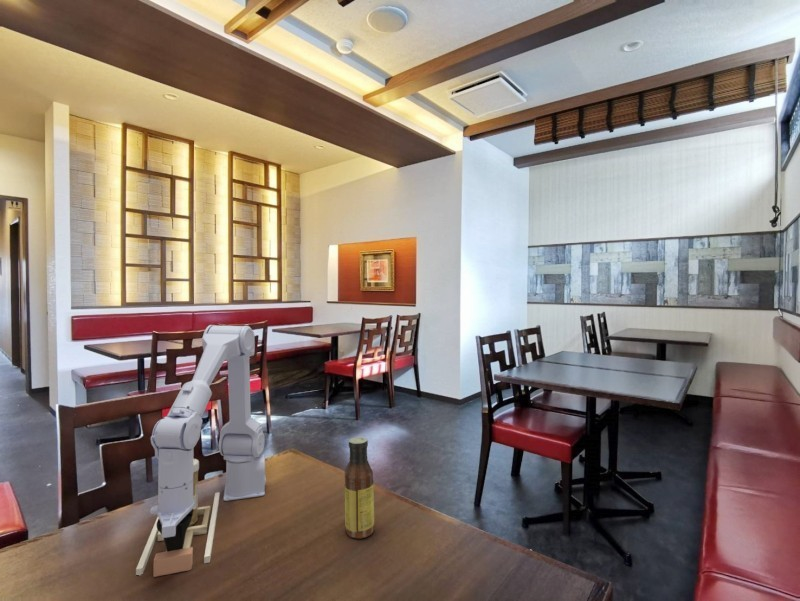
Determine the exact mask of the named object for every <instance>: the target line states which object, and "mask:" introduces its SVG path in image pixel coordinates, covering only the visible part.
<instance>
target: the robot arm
mask: <svg viewBox="0 0 800 601" xmlns="http://www.w3.org/2000/svg"><path fill="white" fill-rule="evenodd" d="M201 341H202V350H203V352H202V354H201V357H200V359H199V362H198V364H197V367H196V369H195V372H194V374H193V377H192V379H191V380H190V381H187V382H185V383H184V384H182V387H181V388H180V389H179V393H178V394H177V396H176V398H175V400H174V402H173V403H172V406H171V407H170V409H169V411H168V413H167V415H166V416H164V417H163V418H161V419H159V420H158V421H157V422H156V423H155V424H154V427H153V429H152V432H151V436H150V444H151V446H152V447H153V450H154V458H156V459H157V460H158V463H157V466H158V467H157V468H158V471H157V474H158V475H157V477H158V479H157V480H158V481H157V483H158V484H157V485H158V486H157V488H158V489H157V490H158V491H157V504H155V505H153V506H151V508H150V510H149V511H150V515H156V516H157V517H158V518H159V519H158V521H157V529H158V531H159V532H160V533H161V534H162V538H164V540H163V541H164V544H165V548H166V550H167V551H173V550H179V549H183V545H184V540H185V535H186V530H187V528H188V526H189V524H190V522H191V519H192V516H193V512H194V511H193V507H194V500H193V459H194V456H195V454H194V452H195V451H194V448H195V446H197V443H198V442H199V440H200V436H201V430H202V425H203V419H202V417H203V415H204V413H205V410H206V408H207V405H208V404H209V401H210V399H211V397H212V395H213V392H212V390H211V388H210V387H211V385H212V382H213V381H214V380H215V378H216V376H217V375H218V372H219V370H220V369H221V368H222V366H223V364H224V362H225V361H226V362H227V377H228V378H227V382H228V384H227V385H228V409H229V410H228V411H229V412H228V414H229V421H228V422H226V423H225V424H223V426H222V427H221V429H220V431H219V432H220V435H219V441H218V451H219V454H220V455H221V456H223V460H224V461H225V462H226V463H225V464H226V465H225V466H226V467H225V468H226V471H225V472H226V473H225V475H226V476H225V486H224V491H223V502H227V501H235V500H243V499H249V498H257V497H263V496H265V493H266V492H265V490H266V489H265V488H266V487H265V485H266V484H267V478H266V477H267V476H266V457H265V456H266V455H265V454H262V452H264V447H265V440H266V439H265V434H264V431H263V425H262V424H261V422H259V421H257V420H256V419H254V418H253V417H252V414H251V410H252V409H251V375H250V372H251V371H250V357H253V356H254V355H255V351H256V350H255V347H256V346H255V344H256V341H255V332H254V330H253V329H252V328H251V327H250V326H249V325H215V324H209V325H208V326H206V328H205V329H204V331H203V335H202V338H201ZM189 527H190V526H189Z"/></svg>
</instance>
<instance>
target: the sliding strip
mask: <svg viewBox="0 0 800 601" xmlns="http://www.w3.org/2000/svg"><path fill="white" fill-rule="evenodd" d="M211 508H212V506H211V505H205V506H199V507H198V506H197V517H198V516H203V519H202V522H201V524H200V525H194V526H193V525H192V526H189V527H188V528H187V530H186V535H185V540H184V545H183V549H179V550H173V551H167V549H166V550H165V551H163V552H157V553H155V556H154V558H153V578H156V577H160V576H165V575H172V574H176V573H181V572H187V571H191V570H192V568H193V559H194V558H193V557H194V553H193V552H194V546H192V544H193V538H194V536H198V535H205V534H207V533H208V529H209V524H210V518H211ZM160 541H161V542H162V541H164V538H162V534H161V533H160V532H158V535H157V542H160Z"/></svg>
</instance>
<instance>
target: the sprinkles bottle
mask: <svg viewBox="0 0 800 601" xmlns="http://www.w3.org/2000/svg"><path fill="white" fill-rule="evenodd" d="M199 469H200V461H199V459H197V458H193V500H194V507H193V511H194V512H193V516H192V519H191V522H190V524H189V526H188V527H192V526H193V525H195V524H196V523H197V522H198V520H199V518H198V516H197V508H198V505H199V479H198V478H199Z"/></svg>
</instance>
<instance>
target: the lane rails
mask: <svg viewBox="0 0 800 601" xmlns="http://www.w3.org/2000/svg"><path fill="white" fill-rule="evenodd" d="M220 497H221V496H220V491H219V492H215V493H214V498H213V503H212V504H213V505H212V510H211V514H210V519H209V525H208V531H207V533H208V534H207V538H206V539H207V540H206V544H205V551H204V556H203V564H207V563H211V556H212V550H213V544H214V537H215V530H216V523H217V517H218V511H219V502H220ZM158 519H159V518H158V516H157V517H156V520H155V522H154V523H153V524H154V525H153V528H152V529H151V532H150V535H149V536H148V539H147V542H146V544H145V546H144V549H143V551H142V554H141V556H140V559H139V561H138V564H137V565H136V568H135V576H136V575H139V576H142V575H141V574H144V572H145V569H146V567H147V564H148V562H149V558H150V556H151V554H152V550H153V549H154V545H155V544H156V540H157V539H158V532H159V531H158V529H157V521H158Z"/></svg>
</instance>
